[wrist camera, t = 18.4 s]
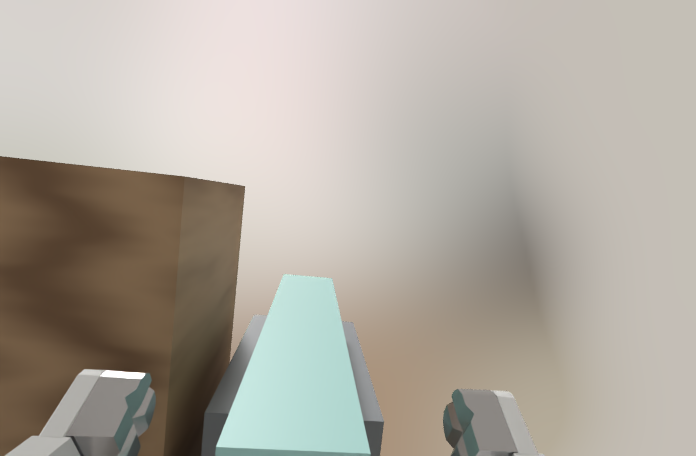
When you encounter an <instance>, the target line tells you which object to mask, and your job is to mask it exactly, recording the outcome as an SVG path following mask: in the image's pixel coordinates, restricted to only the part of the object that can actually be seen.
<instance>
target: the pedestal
mask: <svg viewBox="0 0 696 456" xmlns="http://www.w3.org/2000/svg"><path fill="white" fill-rule="evenodd" d="M244 193H245V186H240V185H234V184H228V183H222V182H215V181H209V180H203V179H197V178H190V177H183V176H174V175H164V174H156V173H147V172H138V171H129V170H120V169H111V168H102V167H93V166H83V165H73V164H65V163H55V162H47V161H38V160H29V159H19V158H10V157H2V156H0V456H5V455H6V454H8V453H9V452H10V451H12V450H13V449H14V448H16V447H17V446H19V445H20V444H21V443H23V442H24V441H25V440H27V439H28V438H30V437H31V436H39V435H40V433H41V432H42V430H43V428H44V427H45V425H46V424H47V422H48V421H49V419H50V417H51V416H52V414H53V413H54V411H55V410H56V408H57V406H58V405H59V403H60V402H61V400H62V399H63V397H64V395H65V394H66V392H67V391H68V389H69V387H70V386H71V384H72V383H73V381H74V380H75V378H76V376H77V375H78V374H79V373H81V372H82V371H83V370H84V369H93V370H109V371H124V372H142V373H150V376H151V379H152V381H151V384H150V386H149V387H150V388H151V389H153V390H154V391H155V395H156V405H155V410H154V414H153V418H152V420H151V423H150V425H149V428H148V429H147V430H146V431H145V432H144V433H142V434H141V435H140V436H139V437H138V438H139V442H140V445H141V448H140V450H139V453H138V455H137V456H201V451H202V439H203V427H204V415H205V411H206V409H207V407H208V405H209V403H210V401H211V399H212V397H213V395H214V393H215V391H216V389H217V387H218V385H219V383H220V381H221V379H222V377H223V375H224V373H225V371H226V369H227V368H228V366H229V363H230V351H231V340H232V329H233V318H234V305H235V295H236V284H237V272H238V261H239V249H240V238H241V226H242V215H243V204H244Z"/></svg>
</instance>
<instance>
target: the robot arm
mask: <svg viewBox="0 0 696 456" xmlns="http://www.w3.org/2000/svg"><path fill="white" fill-rule="evenodd" d="M151 381H152V379H151V376H150V373H142V372H124V371H109V370H93V369H84V370H83V371H82V372H81V373H79V374H78V375H77V376H76V378H75V380H74V381H73V383H72V384H71V386H70V387H69V389H68V391H67V392H66V394H65V395H64V397H63V399H62V400H61V402H60V403H59V405H58V406H57V408H56V410H55V411H54V413H53V414H52V416H51V417H50V419H49V421H48V422H47V424H46V425H45V427H44V428H43V430H42V432H41V433H40V435H39V436H31V437H30V438H28V439H27V440H25V441H24V442H23V443H21V444H20V445H19V446H17V447H16V448H14V449H13V450H12V451H10V452H9V453H8V454H6V455H5V456H137V455H138V453H139V450H140V448H141V445H140V442H139V438H138V437H139V436H140V435H141V434H142V433H144V432H145V431H146V430H147V429H148V428H149V425H150V423H151V420H152V418H153V414H154V410H155V405H156V395H155V391H154V390H153V389H151V388H150V387H149V386H150V384H151ZM452 399H453V402H452V403H449V404H448V405H447V406H446V408H445V411H444V417H443V426H444V433H445V437H446V440H447V441H448V443H449V444H450V445H451V446H452V447H453V448H454V449H453V452H452V454H451V456H545V455H544V454H538V451H537V449H536V447H535V445H534V442H533V440H532V438H531V435H530V433H529V431H528V428H527V426H526V424H525V422H524V419H523V417H522V414H521V412H520V410H519V408H518V405H517V403H516V400H515V398H514V396H513V395H512V394H511V393H510V392H508V391H491V390H473V389H457V390H455V391H454V392H453V394H452Z"/></svg>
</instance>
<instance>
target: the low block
mask: <svg viewBox="0 0 696 456" xmlns="http://www.w3.org/2000/svg"><path fill="white" fill-rule="evenodd" d="M266 318H267V316H264V315H254V316H253V318H252V320H251V322H250V324H249V326H248V328H247V330H246V332H245V334H244V336H243V338H242V340H241V342H240V344H239V346H238V348H237V350H236V352H235V354H234V356H233V358H232V360H231V362H230V364H229V366H228V368H227V369H226V371H225V373H224V375H223V377H222V379H221V381H220V383H219V385H218V387H217V389H216V391H215V393H214V395H213V397H212V399H211V401H210V403H209V405H208V407H207V409H206V411H205V415H204V427H203V439H202V451H201V456H215V451H216V445H217V443H218V440H219V438H220V435H221V433H222V430H223V428H224V425H225V423H226V420H227V417H228V415H229V412H230V410H231V407H232V405H233V402H234V400H235V397H236V395H237V392H238V389H239V387H240V384H241V382H242V379H243V377H244V374H245V372H246V369H247V367H248V364H249V362H250V359H251V356H252V354H253V351H254V349H255V346H256V344H257V341H258V339H259V336H260V334H261V331H262V328H263V326H264V323H265V321H266ZM342 326H343V330H344V335H345V339H346V344H347V348H348V353H349V358H350V362H351V367H352V371H353V376H354V380H355V385H356V389H357V394H358V398H359V403H360V408H361V412H362V417H363V421H364V426H365V430H366V435H367V439H368V444H369V448H370V453H371V455H370V456H380V450H381V442H382V433H383V425H384V420H383V417H382V414H381V411H380V407H379V404H378V401H377V398H376V395H375V391H374V388H373V385H372V382H371V379H370V375H369V373H368V369H367V366H366V363H365V360H364V356H363V353H362V350H361V347H360V343H359V340H358V337H357V334H356V331H355V328H354V324H353V322H344V321H342Z"/></svg>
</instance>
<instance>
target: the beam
mask: <svg viewBox="0 0 696 456" xmlns="http://www.w3.org/2000/svg"><path fill="white" fill-rule="evenodd" d="M370 455H371V453H370V448H369V444H368V439H367V435H366V430H365V426H364V421H363V417H362V412H361V408H360V403H359V398H358V394H357V389H356V385H355V380H354V376H353V371H352V367H351V362H350V358H349V353H348V348H347V344H346V339H345V335H344V330H343V326H342V321H341V317H340V313H339V308H338V303H337V299H336V295H335V290H334V285H333V280H332V278H321V277H310V276H298V275H288V274H284V275H283V278H282V280H281V283H280V285H279V288H278V290H277V293H276V296H275V298H274V301H273V303H272V306H271V308H270V311H269V313H268V316H267V318H266V321H265V323H264V326H263V328H262V331H261V334H260V336H259V339H258V341H257V344H256V346H255V349H254V351H253V354H252V356H251V359H250V362H249V364H248V367H247V369H246V372H245V374H244V377H243V379H242V382H241V384H240V387H239V389H238V392H237V395H236V397H235V400H234V402H233V405H232V407H231V410H230V412H229V415H228V417H227V420H226V423H225V425H224V428H223V430H222V433H221V435H220V438H219V440H218V443H217V445H216V451H215V456H370Z"/></svg>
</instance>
